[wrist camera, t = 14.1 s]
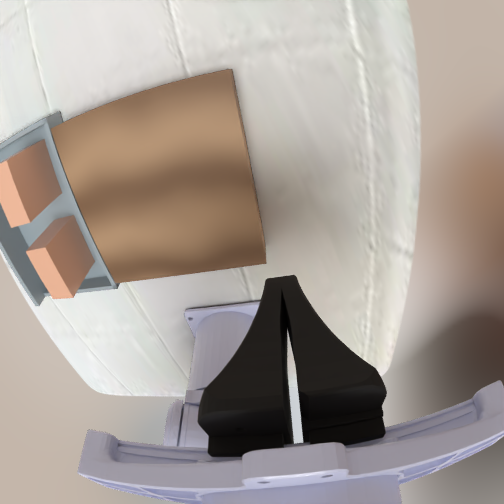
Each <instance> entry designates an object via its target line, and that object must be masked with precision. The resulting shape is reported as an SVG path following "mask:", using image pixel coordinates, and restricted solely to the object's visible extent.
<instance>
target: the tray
mask: <svg viewBox="0 0 504 504" xmlns="http://www.w3.org/2000/svg"><path fill="white" fill-rule="evenodd" d="M61 123H63V120H62V117H61V113H60V112H58V113H55V114H53V115H50V116H48V117H45V118H44V119H42V120H40V121H38V122H36V123H34V124H33V125H31V126H29V127H27V128H26V129H24V130H22V131H21V132H19V133H17V134H16V135H14V136H12V137H11V138H9V139H8V140H6V141H4V142H3V143H1V144H0V162H2V161H3V160H5V159H7V158H8V157H10V156H12V155H13V154H15V153H17V152H18V151H20V150H22V149H24V148H25V147H28V146H30V145H32V144H34V143H36V142H39V141H41V140H43V139H45V142H46V146H47V149H48V152H49V155H50V159H51V162H52V165H53V168H54V171H55V174H56V177H57V180H58V182H59V185H60V188H61V191H62V194H60V195H59V196H58V197H57V198H56V199H55V200H54V201H53V202H52V203H50V204H49V205H48V206H47V207H46V208H45V209H44V210H43V211H42V212H41V213H40V214H39V215H38V216H37V217H36V218H35V219H34V220H33V221H32V222H31V223H27V224H24V225H20V226H16V227H13V228H11V226H10V224H9V222H8V220H7V217H6V215H5V213H4V210H3V208H2V206H1V203H0V249H1V251H2V252H3V254H4V256H5V258H6V260H7V261H8V263H9V265H10V266H11V268H12V270H13V271H14V273H15V275H16V276H17V278H18V280H19V281H20V283H21V284H22V286H23V288H24V289H25V291H26V292H27V294H28V295H29V297H30V298H31V300H32V301H33V303H34V304H35V306H40V304H41V302H42V301H43V299H44V298H45V296H51V295H50V293H49V292H48V290H47V288H46V287H45V285H44V283H43V282H42V280H41V278H40V277H39V275H38V273H37V271H36V270H35V268H34V266H33V264H32V262H31V261H30V259H29V257H28V255H27V253H26V251H27V249H28V248H29V247H30V246H31V245H32V244H33V242H34V241H35V240H36V239H37V238H38V237H39V236H40V235H41V234H42V232H43V231H44V230H45V229H46V228H47V227H48V226H49V225H50V224H51V223H52V222H53V221H54V220H56V219H59V218H63V217H67V216H71V215H74V216H75V218H76V221H77V223H78V225H79V228H80V230H81V232H82V234H83V237H84V239H85V241H86V243H87V245H88V248H89V250H90V252H91V254H92V256H93V258H94V260H95V262H94V264H93V265H92V267H91V269H90V270H89V272H88V274H87V275H86V277H85V279H84V280H83V282H82V284H81V285H80V287H79V289H78V290H77V292H76V293H82V292H92V291H101V290H110V289H118V287H119V284H120V283H115V281H114V279H113V277H112V275H111V274H110V272H109V270H108V268H107V266H106V264H105V262H104V260H103V258H102V256H101V254H100V252H99V250H98V248H97V246H96V243H95V241H94V239H93V237H92V235H91V233H90V231H89V228H88V226H87V224H86V222H85V219H84V217H83V215H82V213H81V210H80V208H79V206H78V203H77V201H76V198H75V196H74V193H73V191H72V188H71V186H70V183H69V181H68V178H67V175H66V173H65V170H64V167H63V165H62V162H61V159H60V156H59V153H58V150H57V147H56V144H55V141H54V138H53V135H52V132H51V128H53V127H55V126H57V125H59V124H61Z"/></svg>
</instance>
